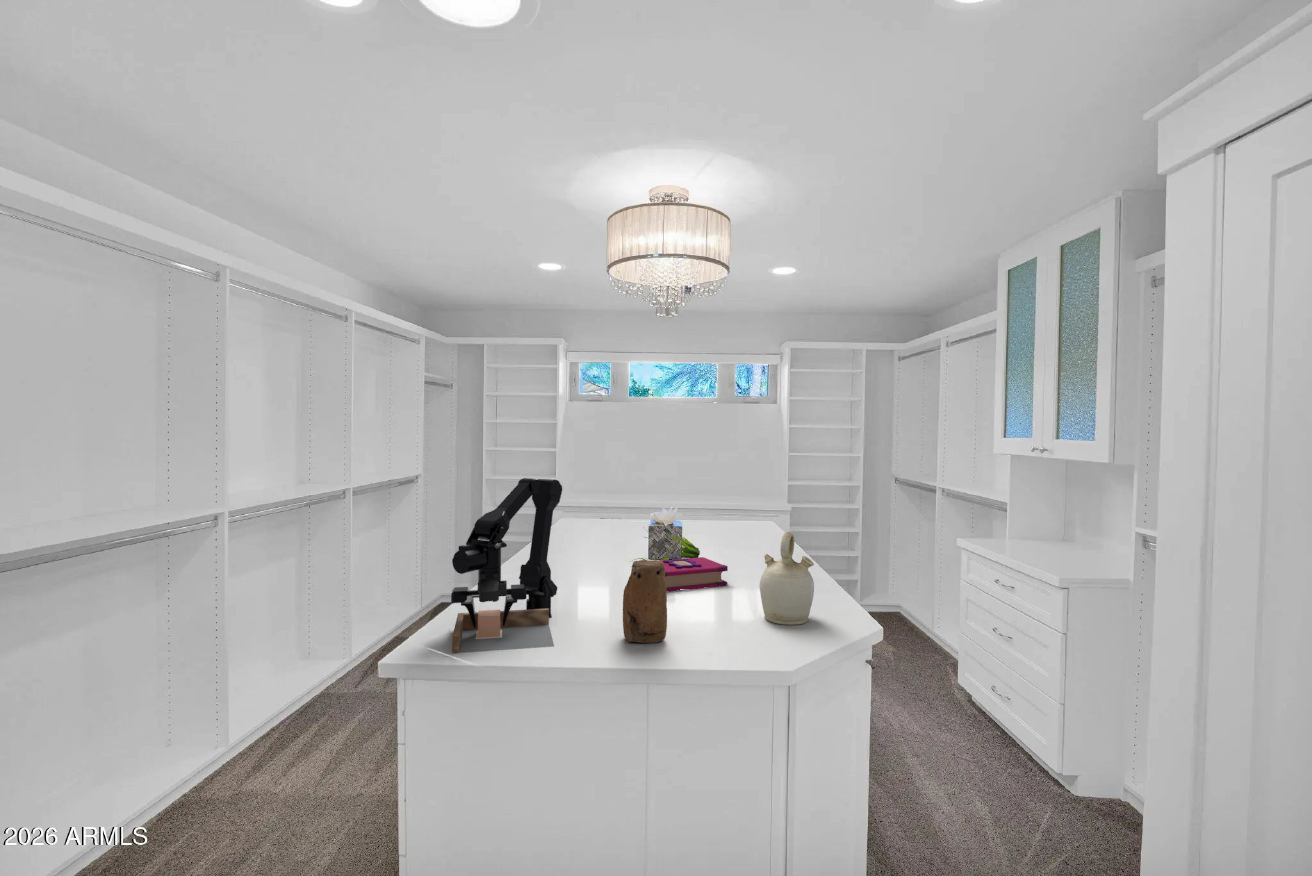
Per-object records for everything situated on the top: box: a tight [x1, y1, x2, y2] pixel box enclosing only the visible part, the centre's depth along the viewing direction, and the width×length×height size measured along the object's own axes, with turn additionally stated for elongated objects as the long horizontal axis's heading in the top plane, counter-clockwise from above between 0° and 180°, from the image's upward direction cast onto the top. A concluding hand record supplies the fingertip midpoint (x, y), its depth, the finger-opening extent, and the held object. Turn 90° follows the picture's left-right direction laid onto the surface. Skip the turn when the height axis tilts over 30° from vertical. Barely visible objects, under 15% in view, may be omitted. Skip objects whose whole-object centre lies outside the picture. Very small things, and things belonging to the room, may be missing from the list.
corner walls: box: [451, 608, 550, 654], centre depth 165 cm, size 24×20×4 cm
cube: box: [478, 609, 501, 638], centre depth 167 cm, size 6×6×6 cm
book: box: [660, 556, 729, 592], centre depth 228 cm, size 21×28×8 cm
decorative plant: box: [629, 527, 701, 563], centre depth 264 cm, size 18×30×15 cm, turn 92°
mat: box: [458, 623, 555, 654], centre depth 165 cm, size 24×20×1 cm
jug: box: [759, 531, 815, 626], centre depth 184 cm, size 15×16×25 cm
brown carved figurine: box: [622, 559, 668, 644], centre depth 164 cm, size 11×8×20 cm
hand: (489, 626), depth 167 cm, fingers open, 7 cm apart
